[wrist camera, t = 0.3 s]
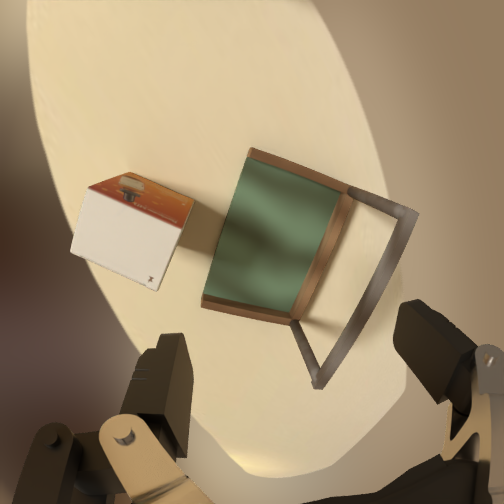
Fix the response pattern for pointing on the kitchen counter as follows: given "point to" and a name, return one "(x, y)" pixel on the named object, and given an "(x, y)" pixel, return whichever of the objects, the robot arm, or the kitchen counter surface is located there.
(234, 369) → the kitchen counter surface
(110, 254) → the small box
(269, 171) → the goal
